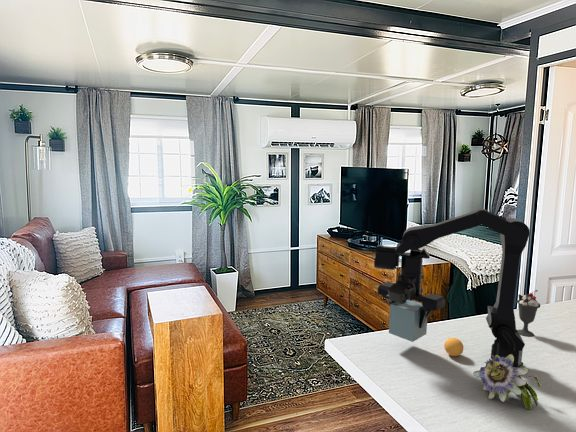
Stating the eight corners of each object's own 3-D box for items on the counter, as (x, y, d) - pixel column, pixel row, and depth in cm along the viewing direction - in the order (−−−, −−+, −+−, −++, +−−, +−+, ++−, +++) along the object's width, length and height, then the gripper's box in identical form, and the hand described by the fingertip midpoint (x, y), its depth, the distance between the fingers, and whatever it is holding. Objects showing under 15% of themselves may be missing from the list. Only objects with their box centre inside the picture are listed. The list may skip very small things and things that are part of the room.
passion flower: (490, 420, 92) (461, 370, 95) (514, 397, 97) (487, 351, 101) (532, 419, 83) (499, 364, 86) (556, 394, 88) (525, 343, 91)
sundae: (541, 338, 122) (546, 292, 120) (517, 336, 124) (522, 290, 122) (532, 330, 129) (537, 286, 127) (510, 328, 130) (514, 284, 128)
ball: (465, 355, 111) (467, 338, 111) (458, 361, 108) (459, 344, 107) (448, 349, 115) (449, 333, 114) (440, 354, 111) (441, 338, 111)
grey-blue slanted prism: (426, 334, 114) (428, 305, 113) (412, 341, 109) (414, 311, 108) (402, 325, 120) (404, 298, 119) (388, 332, 115) (390, 304, 114)
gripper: (367, 269, 113) (365, 321, 116) (427, 285, 100) (424, 342, 102) (389, 263, 121) (386, 311, 123) (447, 276, 107) (444, 330, 110)
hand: (408, 323), depth 114 cm, fingers closed on grey-blue slanted prism, 8 cm apart
